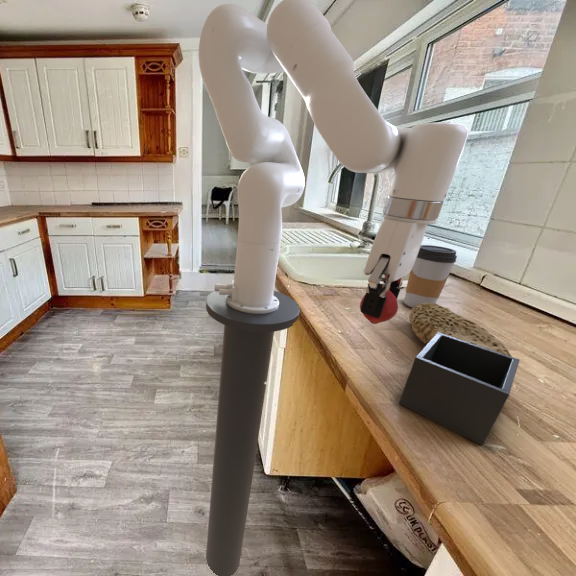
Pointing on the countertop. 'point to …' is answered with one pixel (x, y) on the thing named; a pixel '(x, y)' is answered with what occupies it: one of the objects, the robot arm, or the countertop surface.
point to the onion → (384, 309)
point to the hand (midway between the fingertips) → (377, 309)
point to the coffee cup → (429, 274)
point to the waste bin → (459, 385)
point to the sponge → (451, 327)
